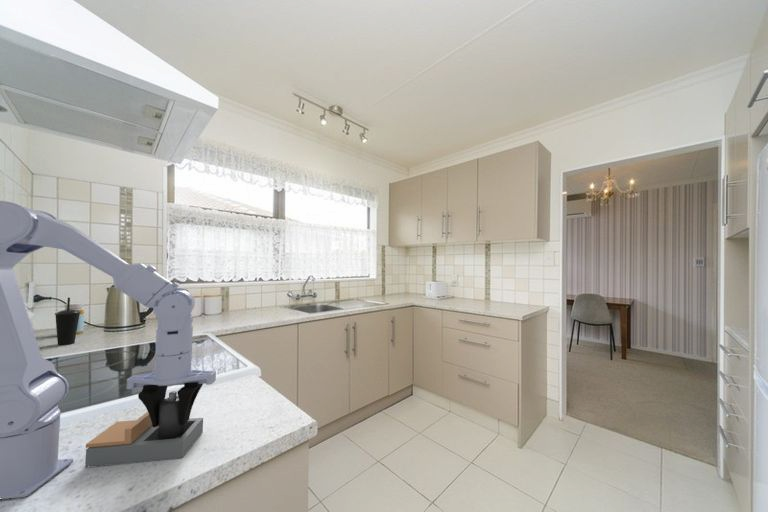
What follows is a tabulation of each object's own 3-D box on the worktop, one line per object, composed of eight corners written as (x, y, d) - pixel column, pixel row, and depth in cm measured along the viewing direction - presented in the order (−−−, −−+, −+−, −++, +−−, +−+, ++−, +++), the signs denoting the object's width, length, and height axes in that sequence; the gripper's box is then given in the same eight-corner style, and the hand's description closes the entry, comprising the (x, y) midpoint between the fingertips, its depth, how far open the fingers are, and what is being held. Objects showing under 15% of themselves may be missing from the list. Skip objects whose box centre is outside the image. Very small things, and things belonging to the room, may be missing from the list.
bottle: (84, 331, 144) (85, 302, 145) (81, 334, 139) (83, 303, 139) (63, 333, 140) (65, 303, 140) (60, 336, 134) (62, 304, 135)
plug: (153, 442, 52) (155, 398, 52) (164, 430, 56) (166, 389, 56) (178, 439, 53) (179, 396, 53) (187, 427, 57) (189, 387, 57)
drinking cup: (68, 341, 126) (70, 296, 126) (84, 341, 125) (86, 296, 126) (46, 346, 118) (49, 298, 119) (64, 346, 118) (67, 298, 119)
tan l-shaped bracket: (85, 447, 49) (86, 432, 49) (117, 424, 56) (117, 411, 56) (130, 443, 50) (131, 428, 50) (155, 421, 57) (156, 408, 57)
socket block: (85, 467, 48) (86, 449, 48) (119, 439, 56) (120, 423, 56) (182, 457, 51) (183, 440, 51) (202, 432, 59) (203, 417, 59)
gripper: (222, 344, 60) (220, 409, 59) (145, 347, 57) (142, 415, 57) (208, 355, 53) (205, 428, 52) (119, 358, 50) (115, 436, 50)
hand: (171, 423), depth 54 cm, fingers closed on plug, 4 cm apart
